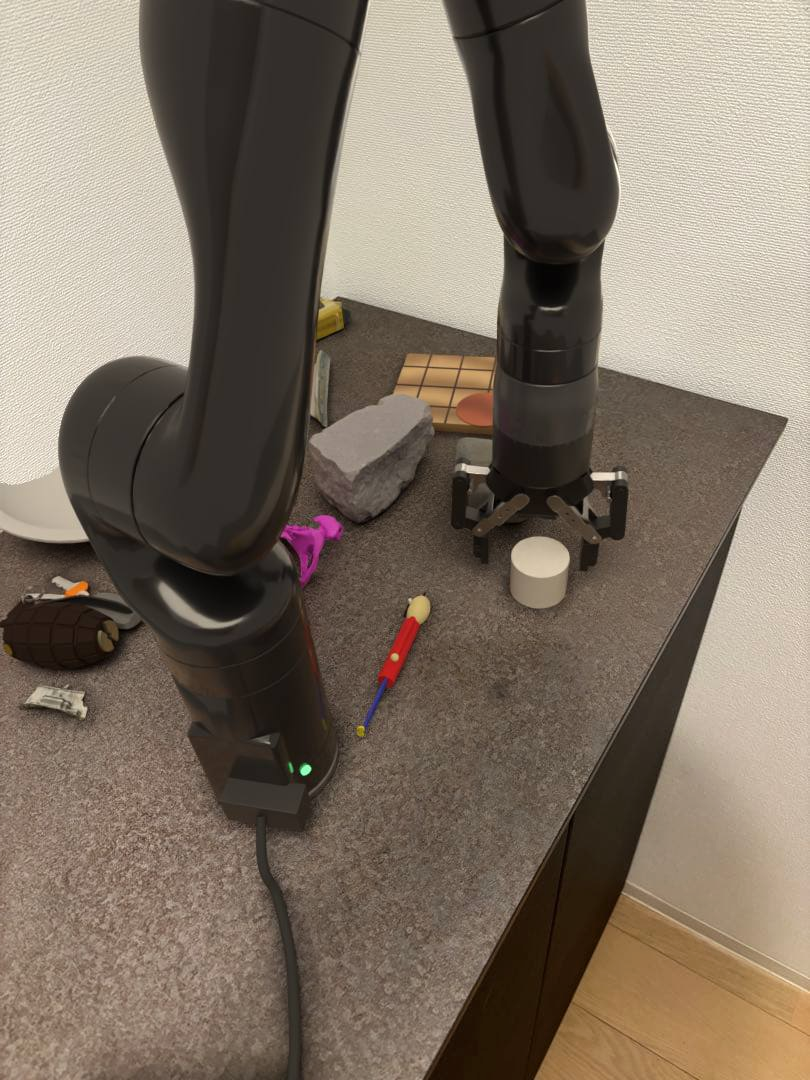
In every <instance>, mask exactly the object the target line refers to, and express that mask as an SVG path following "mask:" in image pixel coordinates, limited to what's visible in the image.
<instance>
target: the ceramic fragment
mask: <svg viewBox="0 0 810 1080" xmlns="http://www.w3.org/2000/svg"><path fill="white" fill-rule="evenodd" d="M330 368H331V357H330V356H329V355H328V354H327V352H326V351H325V350H323V349H320V350H319V351H318V354H317V357H316V361H315V363H314V375H313V387H312V400H311V412H310V418H313V419H314V420H316V421H318V422H319V423H320V425H321V426H322V427H325V428H327V427H328V396H329V394H328V393H329V379H330Z"/></svg>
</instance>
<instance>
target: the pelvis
mask: <svg viewBox="0 0 810 1080" xmlns="http://www.w3.org/2000/svg"><path fill="white" fill-rule="evenodd" d="M313 522H315V523H318V524H319V526H318V527H317V529H314V528H313V527H310V528H308V527H307V525H304V526H300V527H298V524H293V526H292V525H288V524H287V525H286V528H285V529H284V531H283V533H282V535H281V537H280V538H283V539H285V540H286V541H287V543H288V544H290V546H291V547H292V548H293V549H294V550H295V552H296V553H297V555H298V557H299V560H300V576H301V577H299V580H300V584H301V589H302V590H303V588H305V586H306V584H308V582H309V580H310V578H311V576H312V573H314V572H315V571H316V570H317V566H318V564H319V563H318V562H319V557H320V553H321V552H322V551H321V550H322V549H323V546H324V544H325V541H327V540H328V541H333V542H337V541H340V540H341V537H342V535H343V531H344V526H343V525H342V524H341V523H339V522H338V520H336V518H335V517H334V516H332V515H326V514H320V515H317V516H316V517H314V519H313ZM311 559H312V562H311ZM309 562H311V565H310V566H309ZM308 566H309V567H308Z"/></svg>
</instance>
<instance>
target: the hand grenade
mask: <svg viewBox="0 0 810 1080" xmlns="http://www.w3.org/2000/svg"><path fill="white" fill-rule="evenodd" d="M36 588H41V589H42V590H41V592H40V593H38V594H39V595H38V596H37V597H35V598H33V596H31V595H27V596H26V594H29V592H31V591H32V590H33V589H36ZM44 594H46V588H45V586H44V585H43V584H41V583H34V584H31V585H30V586H28V587H27V588H26V589H25V590H24V591H23V593H22V595H23V597H21V599H20V601H18V602H17V603H16V604H15V606H13V608H12V609H11V610H10V611H9V612H8V613H7V614H6V618H5V619H2V620H1V621H0V629H3V631H2V641H3V643H2V648H3V651H4V652H5V653H6V654H7V656H9V657H11V658H13V659H15V660H18V661H19V662H22V663H24V664H27V665H30V666H33V667H38V668H41V669H48V670H70V669H78V668H80V667H85V666H88V665H91V664H94V663H97V662H98V661H101V660H103V659H106V658H108V657H109V656H111V654H113V653H114V651H115V649H116V648H117V642H118V641H119V628H118V627H117V625H116V623H115V622H114V621H113V619H112V618H110V617H109V616H107V615H105V614H103V613H101V612H99V611H96V610H95V609H93V608H90V607H96V608H102V609H107V610H110V611H114V612H118V613H122V614H128V615H129V614H131V613H133V611H132V610H131V609H130V608H129V607H128V606H126V605H124V604H123V603H120V602H117V601H114V600H109V599H104V598H100V597H95V596H94V595H89V596H88V595H75V596H69V597H64V598H59V599H48V600H43V601H40V602H38V603H36V602H37V601H39V600H41V599H40V598H41V597H42V596H43V595H44ZM87 606H88V607H87Z"/></svg>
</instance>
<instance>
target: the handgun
mask: <svg viewBox="0 0 810 1080" xmlns="http://www.w3.org/2000/svg"><path fill="white" fill-rule="evenodd" d="M351 318H352V317H351V310H349V309H347V308H345V307H343V306H342V301H334V300H331V299H325V298H322V296H321V295H320V305H319V316H318V328H317V339H316V341H318V340H320V339H322V338H325V337H327V336H329V335H331V334H333V333H335V332H339V331H341V330H342V329H345V325H346V324H347V323H348V322H349V321H350V320H351Z"/></svg>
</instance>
